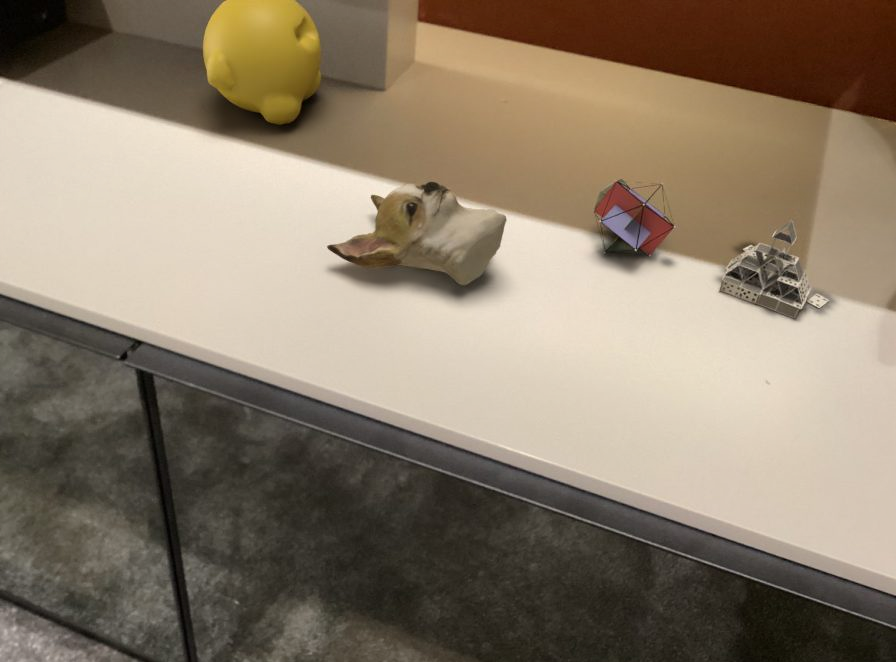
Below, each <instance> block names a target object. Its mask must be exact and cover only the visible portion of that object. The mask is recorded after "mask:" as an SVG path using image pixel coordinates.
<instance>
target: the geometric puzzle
mask: <svg viewBox="0 0 896 662" xmlns="http://www.w3.org/2000/svg"><path fill="white" fill-rule="evenodd" d="M627 182H628V181H625V180H624V179H623V178H621V179H620V178H619V179H618V180H617V179H616V180H615V181H613V182H611V183H609V184H607V185H606V186H605V187H604V188H603V189H602V190H600V191H599V193H598V197H597V199H596V203H595V206H594V209H593V210H592V212H593V214H594V217H595V218H596V220H595V221H596V224H597V225H599V224H600V226H602V225H603V226H604V227H605V228H607V229H609V231H610V232H612V233H613V234H614V235H616V236H617V237H616V238H615V239H614V241H613V242H612V243H611V244H610V245H609V247H608V248H607V249H606V246H605V244H602V246H603V249H604V252H603V253H604V254H606V253H611V254H612V253H613V254H616V253H620V250H611V251H609V250H610V249H611V247H612V246H613V245H614V244H615V243H616V242H617V240H618V239H621V240H622V241H623V242H624V243H626V244H627V245H628V246H630V247H631V248H632V249H627V250H624V253H623V252H622V254H624V255H629V252H631V251H634V252H639V253H635V255H637V256H643V255H645V256H649V257H651V256H652V253H653V252H654V251H656V249H657V248H658V247H659V246H660V244H661V243H662V242H663V241H664V240H665V238H667V236H669V234H670V233H671V232H672V231H673V230H674V229H675V228H676V225H675V223H674V220H673V219H674V218H673V217H672V216H673V215H672V213H671V212H669V214H670V217H671V220H672V222H671V220H670V219H669V218H668V217H667V215H666V214H665V213H666V209H665V207H666V206H663V211H664V213H663V212H661V211H660V210H659V209H658V208H656V207H655V206H653V204H651V203H650V202H649V201H650V200H651V198H653V196H654V195H655V194H656V192H657V191H658V190H660V188H661V189H662V190H661V191H662V192H663V194H664V195H662V200H663V202H665V200H666V203H667V204H669V202H668V199H667V198H665V197H667V196H666V193H665V190H664V186H663V185H664V183H657V186H658V187H657V188H656V189H655V191H654V192H653V193H652V194H651V196H649V198H648V199H647V200H646V199H645V198H644V197H642V196H641V195H640V194H639V193H638V192H636V191H635V190H634V187H630V186H629V185H628V184H627ZM636 183H637V184H638V183H640V184H642V182H639V181H637V182H636ZM650 184H651V185H650V187H653V186H655V185H656V183H654V182H653V183H652V182H650ZM647 187H648V185H646V186H643V188H647ZM639 188H640V189H641V186H638V187H636V189H639ZM664 196H665V197H664ZM667 206H668V210H669V211H671V210H670V206H669V205H667ZM599 216H600V217H601V218H599ZM598 222H599V224H598ZM600 226H598V227H597V228H598V232H599V235H600V236H601V237H600V238H601V242H602V243H605V241H604V239H605V238H604V234H603V229H602V227H600ZM599 227H600V228H599ZM600 230H601V232H600ZM639 249H641V250H639ZM626 252H628V253H626Z"/></svg>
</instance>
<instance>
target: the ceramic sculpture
mask: <svg viewBox="0 0 896 662" xmlns="http://www.w3.org/2000/svg"><path fill="white" fill-rule="evenodd" d="M370 199H371V201H372V203H373V205H374V207H375V208H376V211H377V212H376V217H375V227H374V228H375V229H374V231H373V232H369V233H366V234H357V235H355V236H352V238H350V239H348V240H346V241H345V242H341V243H336V244H329V245H326V249H328V251H330V252H331V253H334V254H335V255H336V256H338V257H339V258H341V259H342V260H344V261H347V262H349V263H351V264H353V265H355V266H358V267H360V268H364V269H377V268H388V267H394V266H402V267H403V266H404V267H409V268H415V269H425V270H430V271H436V272H442V273H443V272H444V273H446V274H447V275H449V276H450V277H451V278H452V279H453V280H454V281H455V282H456V283H457V284H458V285H460V286H466V285H468V284H470V283H472V282H473V281H475V280H477V279H478V278H480V277H481V276H482V275H483V274H484V273H485V270H486V269H487V267H488V266H489V263H490V261H491V260H492V259H493V257H494V256H495V255H496V254H497V252H498V250H499V249H500V248H501V243H502V240H503V235H504V231H505V226H506V223H507V216H506V215H505V214H504V213H499V212H498V211H496V210H495V209H493V208H490V209H486V208H482V209H481V208H480V209H477V208H471V207H465V206H463V205H462V204H460V203H459V202H458V199H457V197H456V194H455V193H454V192H452V190H451V189H450V187H448V186H446V185H443V184H439V183H438V182H435V181H428V182H426V183H424V184H421V185H419V184H417V183H413V182H411V183H406V184H403V185H401V186H399V187H397V188H395V189H393V190H391V191H390V192H389V193H388V194H387V195H386V196H385V197H383V196H380V195H377V194H371V195H370Z"/></svg>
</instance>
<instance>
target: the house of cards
mask: <svg viewBox="0 0 896 662" xmlns="http://www.w3.org/2000/svg"><path fill="white" fill-rule="evenodd" d="M785 229H787V230H788V233H786V232H783V231H784V230H785ZM771 238H772V239H773V241H772V244H771V246H770V245H768V244H765V243H762V242H758V244H756V245H755V246H753V245H752V244H750V245H748V246H746V247H744V248H742V250H743V252H742V253H741V254H739V255H738V256H736V257H735V258H731V260H730V262H729V263H728V265H727V266H726V267H725V272H724V274H723V275H722V276H723V277H722V278H721V281H722V282H721V283H720V284H721V285H720V287H719V290H718V292H723V293H725V294H727V295H730V296H733V297H736V298H738V299H741V300H744V301H747V302H749V303H752V304H754V305H758V306H761V307H763V308H766V309H769V310H772V311H774V312H776V313H778V314H780V315H781V314H782V315H784V316H787V317H789V318H791V319H794V320H795V319H796V317H797V316H798V313H799V312H800V310H801V311H803V309H804V308H805V306H806V303H809V304H810V305H812V306H814V307H816V308H818V309H821V308H822V307H823V306H825V305H826V304H827V303H828V302H830V299H828V298H826V297H824V296H823V295H822V294H819V293H815V294H814V295H812V296H811V297H810V298H809V297H808V296H809V294H810V292H811V289H812V286H810V282H809V278H808V273H807V270H805V269H803V267H802V264H801V260H800V257H798V256H796V255H793V254H790V253H789V251H790V249H791V247H792V246H794V244H795V242H796V240H797V238H798V237H797V233H796V229H795V225H794V221H793V219H790V220H789V221H788V222H786V223H785V224H784V225H782V226H781V227H779V228H778V229H775V231H774V232H773V234H772V236H771ZM777 240H778V241H780V242H784V243H786V244H789V246H788V248H787V250H786V247H783V248H781V249H779V248H777V247H774V246H775V243H776V241H777ZM766 255H768V256H766Z"/></svg>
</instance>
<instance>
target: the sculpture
mask: <svg viewBox="0 0 896 662" xmlns="http://www.w3.org/2000/svg"><path fill="white" fill-rule="evenodd" d="M204 30H205V31H204V35H203V42H202V54H203V62H204V66H205V69H206V76H207V82H208V84H209V85H210V86H211V87H213V88H216V90H217V91H218V92H219V93H220V94H221V95H222V96H223V97H224V98H225V99H226V100H228V101H229V102H230V103H232V104H233V105H235V106H237V107H238V108H241V109H243V110H246V111H249V112H253V113H260V114H261V115H262V117H263V118H264V120H266V121H267V122H268V123H269V124H274V125H278V126H280V125H284V124H290V123H292V122H294V121H295V120H296V119H297V118H298V116H299V114H300V112H301V109H302V103H303V101H306V100H308V99H309V98H310V97H312V96H313V95H314V94H315V93H316V92H317V91H318V89H319V88H320V85H321V82H322V72H321V70H320V67H321V61H322V44H321V39H320V35H319V32H318V29H317V27H316V25H315V22H314V21H313V19H312V17H311V16H310V13H308V12H307V11H306V9H305V8H304V6H302V5H301V4H300V3H299V2H297V1H296V0H224V1H223V2H222V3H221V4H220V5H219V6H218V7H217V8H216V9H215V11H214V12H213V14H212V15H211V17H210V19H209V20H208V23H207V25H206V28H205V29H204Z"/></svg>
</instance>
